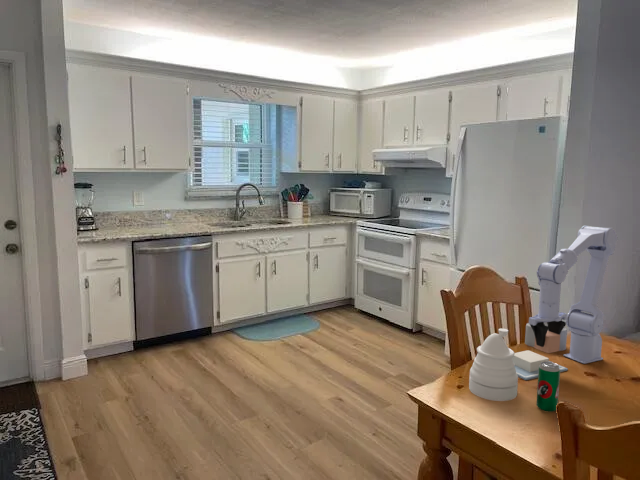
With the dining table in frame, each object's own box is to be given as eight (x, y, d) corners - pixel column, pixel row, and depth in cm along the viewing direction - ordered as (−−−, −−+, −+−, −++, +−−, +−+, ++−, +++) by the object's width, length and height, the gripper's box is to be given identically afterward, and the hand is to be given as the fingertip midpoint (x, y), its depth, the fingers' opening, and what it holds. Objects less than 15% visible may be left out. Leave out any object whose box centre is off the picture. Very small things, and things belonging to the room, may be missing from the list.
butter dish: (531, 355, 165) (531, 345, 165) (567, 370, 153) (568, 359, 152) (491, 363, 158) (491, 353, 157) (525, 380, 145) (526, 368, 145)
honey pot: (515, 384, 142) (519, 324, 140) (518, 404, 130) (522, 339, 128) (469, 378, 146) (472, 320, 144) (468, 396, 134) (470, 333, 132)
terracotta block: (545, 345, 155) (546, 330, 154) (559, 350, 150) (560, 335, 149) (534, 347, 152) (535, 332, 152) (547, 353, 148) (549, 337, 147)
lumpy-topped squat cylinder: (532, 337, 183) (534, 315, 182) (570, 345, 175) (571, 322, 173) (522, 344, 176) (523, 321, 175) (560, 353, 167) (562, 329, 166)
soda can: (559, 413, 125) (563, 368, 123) (538, 411, 126) (541, 367, 124) (554, 404, 130) (557, 361, 128) (534, 402, 131) (537, 360, 129)
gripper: (543, 307, 143) (540, 352, 145) (577, 302, 149) (573, 345, 151) (524, 301, 149) (521, 344, 151) (557, 297, 155) (554, 338, 157)
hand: (546, 344), depth 151 cm, fingers closed on terracotta block, 5 cm apart
